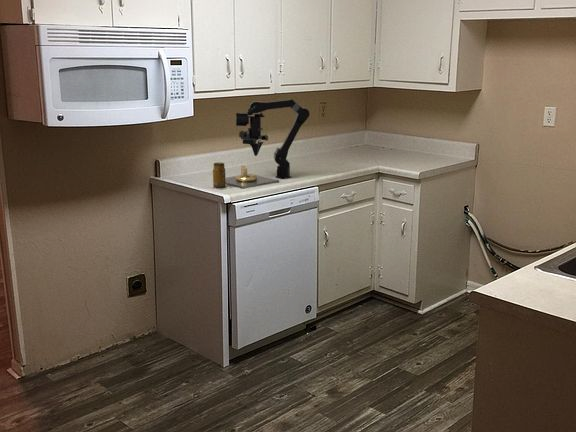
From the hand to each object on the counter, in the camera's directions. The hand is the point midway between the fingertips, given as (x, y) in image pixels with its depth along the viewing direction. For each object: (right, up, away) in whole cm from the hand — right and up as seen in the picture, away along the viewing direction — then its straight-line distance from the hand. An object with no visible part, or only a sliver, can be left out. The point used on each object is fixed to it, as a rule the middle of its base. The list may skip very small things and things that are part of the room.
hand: (255, 155), depth 334 cm
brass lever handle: (-6, -12, -5) cm, 14 cm away
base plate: (-4, -14, -7) cm, 16 cm away
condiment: (-16, -18, -20) cm, 31 cm away
